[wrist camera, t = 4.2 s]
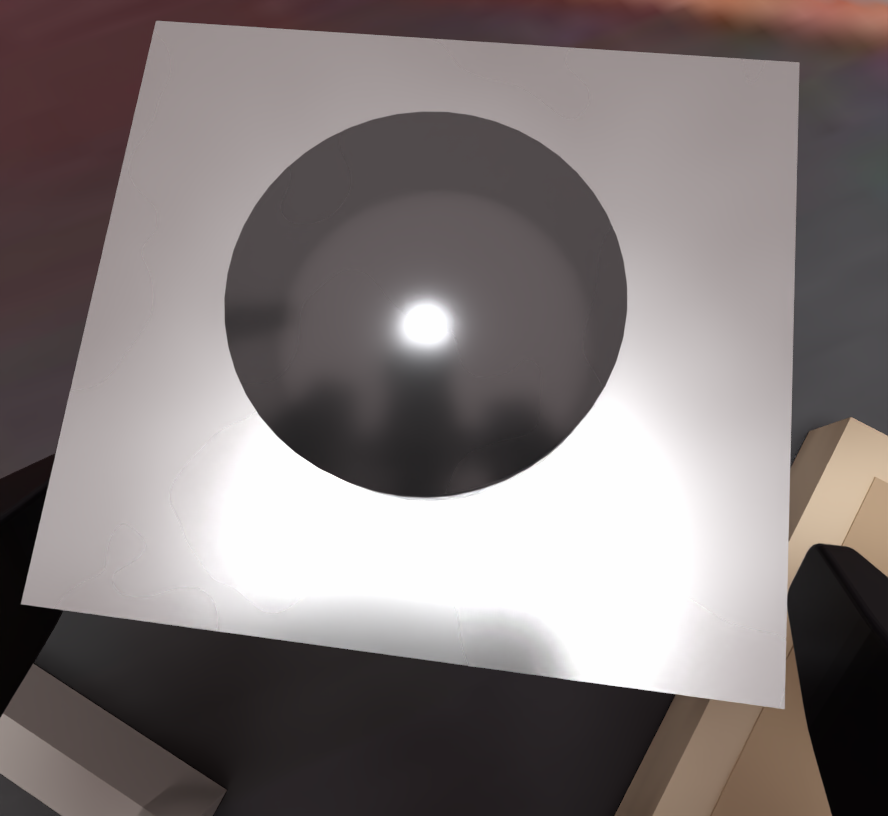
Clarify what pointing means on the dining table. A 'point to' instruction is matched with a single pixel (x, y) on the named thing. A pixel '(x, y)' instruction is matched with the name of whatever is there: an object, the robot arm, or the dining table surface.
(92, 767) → the casing tray rim
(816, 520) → the stand
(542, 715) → the dining table surface
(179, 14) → the dining table surface
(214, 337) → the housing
